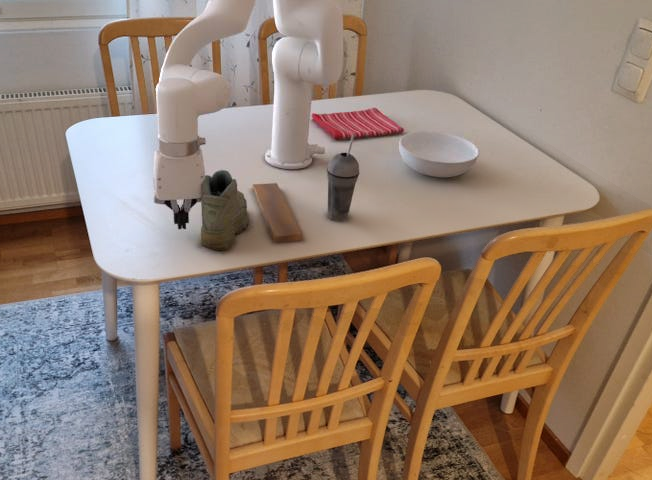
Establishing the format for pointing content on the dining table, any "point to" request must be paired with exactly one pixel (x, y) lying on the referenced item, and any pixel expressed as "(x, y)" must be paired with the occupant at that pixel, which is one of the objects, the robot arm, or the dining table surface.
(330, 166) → the beverage cup
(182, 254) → the dining table surface
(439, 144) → the serving bowl
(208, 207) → the sneaker
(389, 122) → the dish towel
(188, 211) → the robot arm
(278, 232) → the oak board
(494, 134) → the dining table surface
